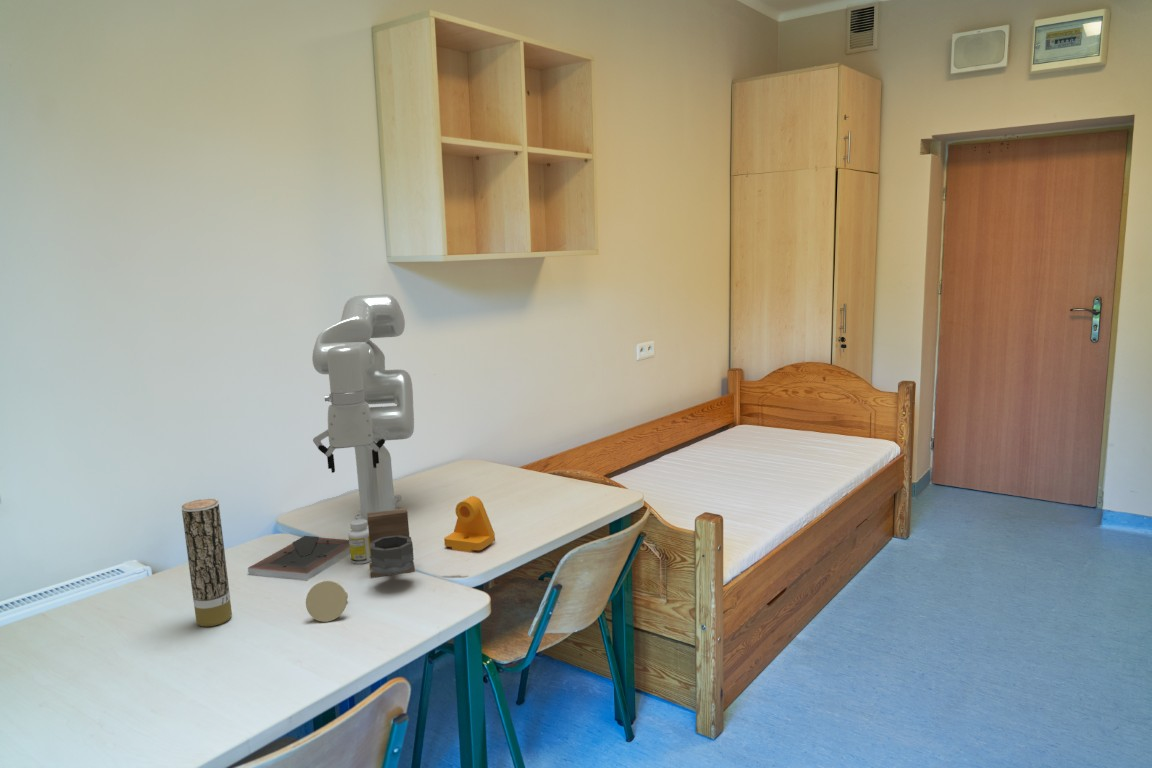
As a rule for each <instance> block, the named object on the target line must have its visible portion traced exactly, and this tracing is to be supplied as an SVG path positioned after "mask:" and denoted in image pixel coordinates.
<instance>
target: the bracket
mask: <svg viewBox="0 0 1152 768" xmlns="http://www.w3.org/2000/svg"><path fill="white" fill-rule="evenodd" d="M485 508H486V507H485V506H484V504H483V501H482V500H481V499H480V497H477V496H474V495H472V496H469V497H467V498H466V499H464V500H462V501H460V502H459V503H457V504H456V507H455V514H456V515H455V516H456V517H457V519H456V523H455V525H454V526H455V527H454V530H453V532H451V533H449V534H448V535H447V536H445V537H443V539H444V547H449V548H451V550H452V551H457V552H464V553H473V552H474V551H482V550H483V549H485V548H486V547H488V546H489V545H491V544H493V543H494V542H495V541H496V535H495V534H496V533H495V531H494V529H493V526H492V523H491V521H490V518H489V516H488V514H487V511H486V509H485Z"/></svg>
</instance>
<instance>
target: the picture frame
mask: <svg viewBox="0 0 1152 768" xmlns="http://www.w3.org/2000/svg"><path fill="white" fill-rule="evenodd" d="M348 555H350V546H349V539H345V538H344V539H343V538H342V539H341V538H333V537H331V538H330V537H320V536H313V535H304V536H302V537H299V538H298V539H297V540H295V541H293V542H292V543H290V544H289V545H287V546H285V547H283V548H281V549H280V550H278V551H275V552H274V553H272V554H271V555H268V556H267V557H264V558H263V559H262V560H259V561H258V562H256V563H254V564H252V565H251V566H249V567H247V573H248V575H249V576H258V577H268V578H276V579H289V580H296V581H297V580H299V581H310V580H311V579H312V578H314V577H315V576H317V575H319V574H320V573H322V572H324V571H325V570H326V569H328V568H330V567H331V566H333V565H334V564H336V563H337V562H339V561H341V560H342V559H344V558H345V557H347V556H348Z"/></svg>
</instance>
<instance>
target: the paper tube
mask: <svg viewBox="0 0 1152 768" xmlns="http://www.w3.org/2000/svg"><path fill="white" fill-rule="evenodd" d="M181 514H182V521H183V529H184V538H185V545H186V553H187V560H188V561H187V562H188V569H189V576H190V577H189V578H190V583H191V593H192V599H193V601H192V602H193V607H194V613H195V621H196V623H197V625H198V626H201V627H215V626H219V625H222V624H225V623H226V622H228V621H229V620H230V619H231V617H232V615H233V614H232V613H233V612H232V605H231V604H232V602H231V594H230V585H229V578H228V569H227V560H226V553H225V552H226V551H225V545H224V544H225V543H224V536H223V528H222V519H221V510H220V503H219V500H218V499H216V498H203V499H197V500H193V501H189V502H186V503H184V504H182V505H181Z"/></svg>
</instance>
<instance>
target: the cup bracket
mask: <svg viewBox="0 0 1152 768" xmlns="http://www.w3.org/2000/svg"><path fill="white" fill-rule="evenodd" d="M367 518H368V525H367V528H368V529H369V540H370V552H371V561H370V562H368V563H369V564H368V565H369V572H370V574H369V575H370V578H379V577H386V576H387V577H388V576H394V575H400V574H408V573H413V572H414V573H415V572H416V570H415V567H416V566H415V563H414V560H415V558H414V547H413V539H412V536H410V527H409V526H410V525H409V514H408V508H399V509H398V510H390V511H382V512H374V513H367Z"/></svg>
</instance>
